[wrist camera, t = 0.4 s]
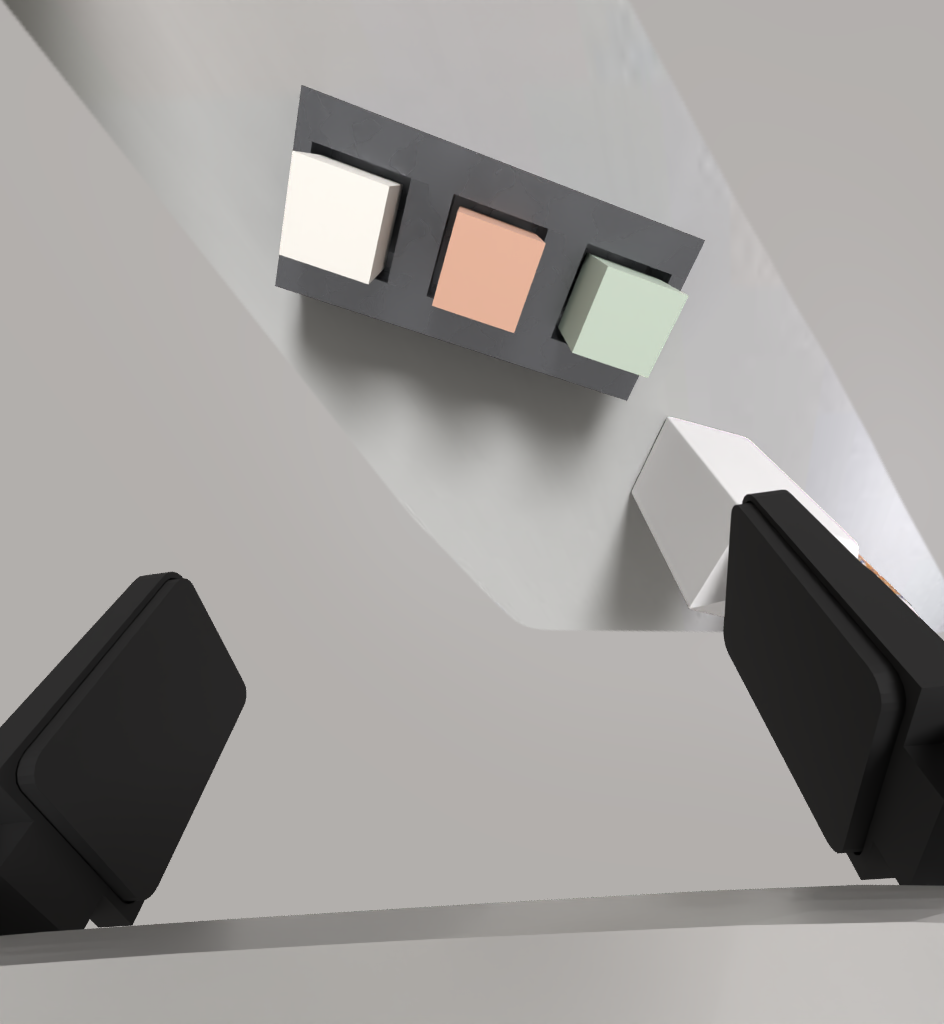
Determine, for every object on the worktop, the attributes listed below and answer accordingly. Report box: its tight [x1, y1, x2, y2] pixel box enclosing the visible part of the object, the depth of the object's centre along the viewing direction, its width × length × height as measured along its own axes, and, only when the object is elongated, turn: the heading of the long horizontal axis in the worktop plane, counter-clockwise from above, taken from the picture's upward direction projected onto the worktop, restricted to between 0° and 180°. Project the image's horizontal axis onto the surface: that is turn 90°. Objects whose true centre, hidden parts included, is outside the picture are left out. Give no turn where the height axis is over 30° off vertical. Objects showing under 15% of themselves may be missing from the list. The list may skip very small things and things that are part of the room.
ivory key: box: [279, 151, 403, 284], centre depth 30 cm, size 5×5×6 cm
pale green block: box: [558, 252, 688, 378], centre depth 32 cm, size 5×5×6 cm
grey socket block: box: [275, 85, 705, 400], centre depth 35 cm, size 23×10×6 cm, turn 72°
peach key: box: [432, 206, 546, 333], centre depth 31 cm, size 5×5×6 cm
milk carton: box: [632, 417, 859, 617], centre depth 38 cm, size 7×7×19 cm
